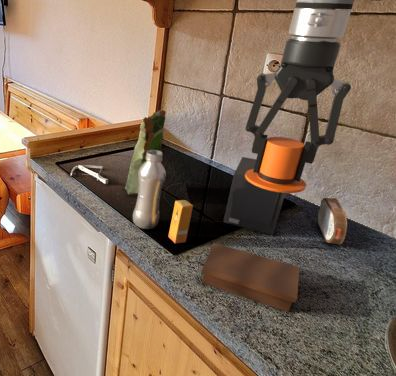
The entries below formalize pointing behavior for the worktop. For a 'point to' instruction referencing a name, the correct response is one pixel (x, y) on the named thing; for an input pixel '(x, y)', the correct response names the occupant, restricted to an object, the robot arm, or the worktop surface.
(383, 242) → the worktop surface
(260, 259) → the stand
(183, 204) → the supplement box
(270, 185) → the hat
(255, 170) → the robot arm
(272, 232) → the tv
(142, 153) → the pouch
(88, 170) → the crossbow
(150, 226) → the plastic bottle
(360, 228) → the worktop surface
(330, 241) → the tin
